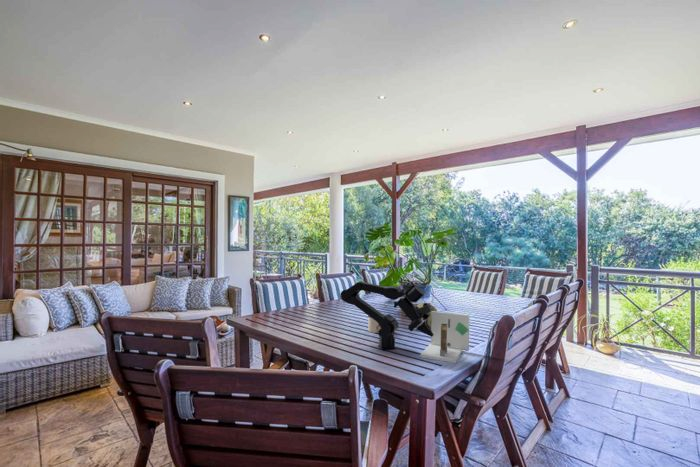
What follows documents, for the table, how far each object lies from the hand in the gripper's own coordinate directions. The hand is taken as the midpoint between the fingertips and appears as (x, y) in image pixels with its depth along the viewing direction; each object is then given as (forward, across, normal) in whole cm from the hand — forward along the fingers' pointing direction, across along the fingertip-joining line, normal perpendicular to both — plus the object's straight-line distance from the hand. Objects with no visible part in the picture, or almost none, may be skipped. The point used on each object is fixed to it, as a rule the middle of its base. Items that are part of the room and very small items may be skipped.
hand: (432, 336), depth 156 cm
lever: (+8, 0, +1) cm, 8 cm away
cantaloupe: (-5, +46, +17) cm, 50 cm away
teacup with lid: (-21, +26, +33) cm, 47 cm away
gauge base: (+10, +5, +3) cm, 11 cm away
